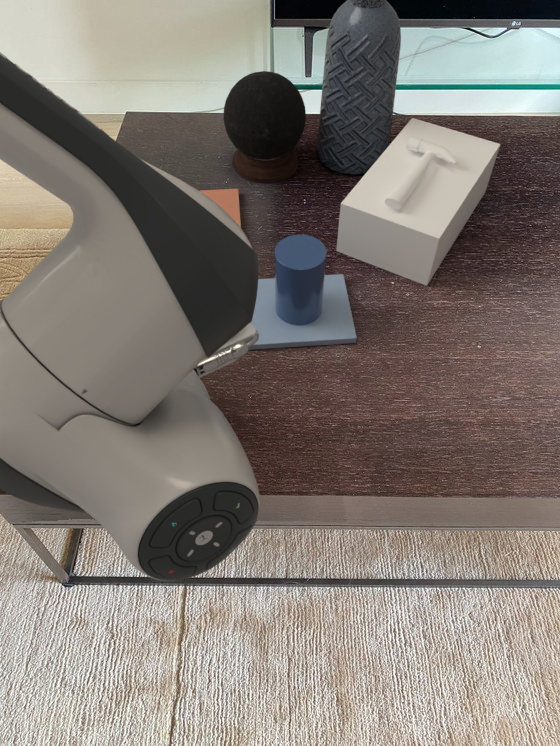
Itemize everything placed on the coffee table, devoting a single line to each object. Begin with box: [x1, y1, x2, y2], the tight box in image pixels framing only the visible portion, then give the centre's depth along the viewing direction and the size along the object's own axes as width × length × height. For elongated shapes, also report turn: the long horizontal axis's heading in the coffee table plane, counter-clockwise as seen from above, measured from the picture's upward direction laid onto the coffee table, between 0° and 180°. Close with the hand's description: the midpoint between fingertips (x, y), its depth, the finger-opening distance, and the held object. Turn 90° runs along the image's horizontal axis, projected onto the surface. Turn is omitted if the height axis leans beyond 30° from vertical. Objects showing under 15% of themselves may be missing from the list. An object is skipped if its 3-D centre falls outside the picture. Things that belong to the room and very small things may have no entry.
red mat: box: [198, 188, 242, 229], centre depth 96 cm, size 18×14×1 cm
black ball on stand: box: [223, 70, 307, 184], centre depth 100 cm, size 13×13×15 cm
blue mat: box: [249, 273, 358, 351], centre depth 84 cm, size 14×12×1 cm
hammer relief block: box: [335, 117, 501, 287], centre depth 92 cm, size 14×25×11 cm, turn 150°
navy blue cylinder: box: [274, 234, 328, 325], centre depth 80 cm, size 6×6×10 cm
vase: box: [316, 0, 402, 175], centre depth 96 cm, size 12×12×28 cm
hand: (108, 328), depth 57 cm, fingers open, 8 cm apart
